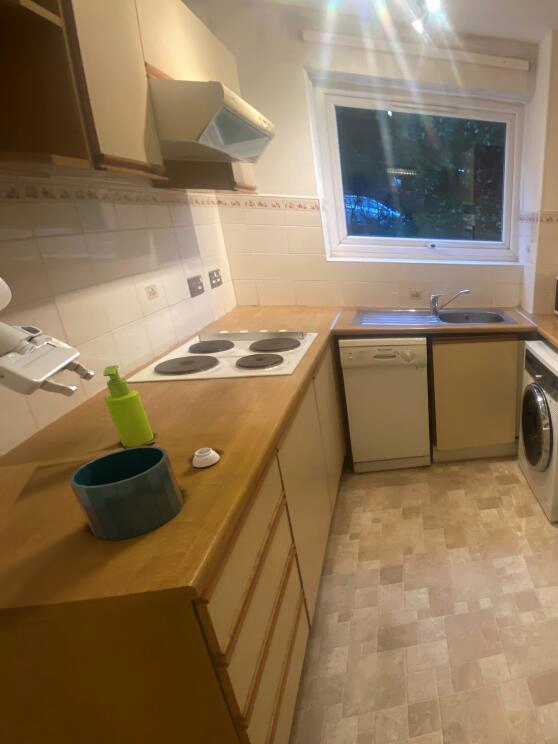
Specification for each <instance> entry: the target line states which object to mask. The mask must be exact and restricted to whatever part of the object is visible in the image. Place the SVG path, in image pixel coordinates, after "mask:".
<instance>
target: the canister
mask: <svg viewBox="0 0 558 744" xmlns="http://www.w3.org/2000/svg"><path fill="white" fill-rule="evenodd" d="M68 483H69V486H70V488H71V490H72V492H73V494H74V496H75V499H76V501H77V502H78V505H79V507H80V509H81V511H82V513H83V516H84V518H85V520H86V522H87V525H88V526H89V529H90V531H91V532H92V533H93V536H95V537H96V538H97V539H99V540H102V541H111V542H112V541H120V540H127V539H132V538H136V537H138V536H141V535H144V534H147V533H149V532H152V531H155V530H156V529H158V528H160V527H161V526H163V525H165V524H167V523H168V522H170V521H171V520H172V519H174V518H175V517H177V515H178V514H179V513H180V512H181V510H182V509H183V507H184V498H183V494H182V492H181V488H180V487H179V482H178V480H177V478H176V475H175V472H174V469H173V466H172V463H171V461H170V458H169V454H168V451H167V450H166V449H165V448H163V447H161V446H155V445H154V446H153V445H151V446H142V447H134V448H128V449H124V448H123V449H121V450H116V451H113V452H109V453H106V454H103V455H101V456H98V457H96V458H94V459H92V460H90V461H88V462H86V463H84V464H83V465H81V466H80V467H78V468H77V469H76V470H74V471H73V473H72V474H71V475H70V476H69V481H68Z"/></svg>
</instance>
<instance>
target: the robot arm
mask: <svg viewBox="0 0 558 744" xmlns="http://www.w3.org/2000/svg"><path fill="white" fill-rule="evenodd" d="M13 295H14V294H13V290H12V288H11V285H10V284H9V283H8V282H7V280H6V279H5V278H3V276H1V275H0V311H2V310H3V309H5V307H7V306H8V305H9V303H11V301H12V300H13V297H14V296H13ZM80 356H81V352H79V351H78V350H77V349H76V348H75V347H73V346H71V345H69V344H67V343H66V342H63V341H61V340H59V339H57V338H55V337H53V336H50V335H48V334H43V330H42V329H40V328H38V327H37V326H33V325H26V326H25V325H22V326H21V325H20V326H19V325H9V324H7V323H5V322H3V321H0V386H2V387H5V388H6V389H9V390H11V391H14V392H16V393H18V394H21V395H26V396H27V395H28V396H30V395H33V394H34V393H35V392H37V391H38V390H43V391H44V392H48V393H55V394H61V395H63V396H66V397H69V398H70V397H72V396H73V395H75V393H76V392H77V391H78V388H77V387H76V386H73V385H71V384H69V383H68V384H63V383H60V382H56V380H55V378H56V377H57V376H59V375H60V374H61V373H63V372H64V371H66V370H67V371H70V372H75V374H77V375H79V378H80V379H83V380H85V381H90V380H92V379H93V377H95V375H96V373H95V372H94V371H92V370H90V369H88V368H87V367H86V366H85V365H84V364H83V363H81V362H80V361H78V359H79V358H80Z"/></svg>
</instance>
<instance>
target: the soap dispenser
mask: <svg viewBox="0 0 558 744" xmlns="http://www.w3.org/2000/svg"><path fill="white" fill-rule="evenodd" d="M119 368H120V367H119V365H117V364H116V365H109V366H106V367H105V368H104V370H103V374H102V375H103V377H109V380H108V381H107V382H106V385H107V388H108V391H109V394H108V395H107V396H105V398H104V401H105V403H106V406H107V409H108V411H109V414H110V417H111V419H112V422H113V425H114V427H115V429H116V432H117V435H118V437H119V440H120V443H121V445H122V446H123V450H124V449H128V448H134V447H142V446H153V445H154V444H155V443H156V441H152V440H153V439H154V433H153V431H152V427H151V425H150V422H149V419H148V416H147V414H146V411H145V407H144V405H143V402H142V399H141V396H140V394H139V392H138V390H133V389H132V390H131V389H130V386H129V384H128V381H127V379H126V378H124V377H121V376H120V373H119V370H118V369H119ZM151 441H152V442H151Z"/></svg>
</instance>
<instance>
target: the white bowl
mask: <svg viewBox="0 0 558 744" xmlns="http://www.w3.org/2000/svg"><path fill="white" fill-rule="evenodd" d="M192 458H193V459H192V462H191V463H192V466H193V467H195V468H205V467H206V468H207V467H210V466H212V465H214V464H216V463H217V462H218V461H219V460H220V455H219V454H218V453H217V452H216V451H215V450H213V449H212V448H211V447H203V448H200V449H197V450H196V451H195V453H194V456H193V457H192Z"/></svg>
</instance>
